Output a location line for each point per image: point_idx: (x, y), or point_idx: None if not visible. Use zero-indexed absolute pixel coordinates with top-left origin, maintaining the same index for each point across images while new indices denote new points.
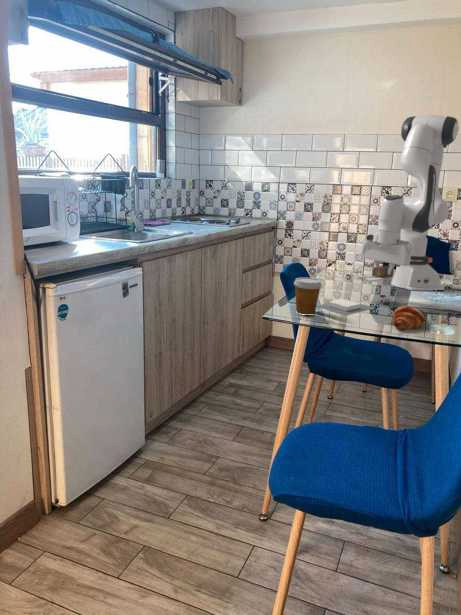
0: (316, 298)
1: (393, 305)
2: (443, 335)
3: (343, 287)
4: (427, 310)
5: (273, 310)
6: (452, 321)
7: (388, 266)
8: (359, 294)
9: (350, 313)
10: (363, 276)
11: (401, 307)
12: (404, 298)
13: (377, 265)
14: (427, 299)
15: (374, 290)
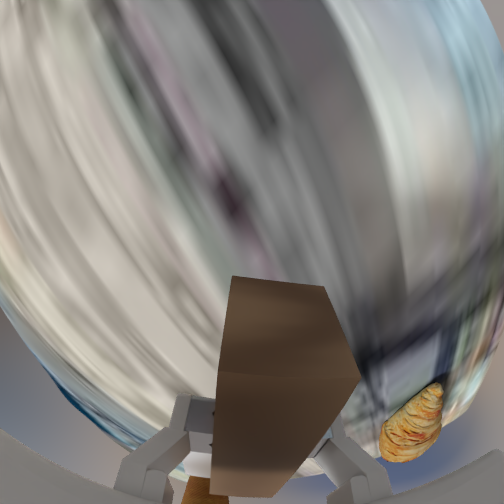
0: (228, 502)
1: (354, 330)
2: (457, 409)
3: (20, 203)
4: (467, 287)
5: None
6: (499, 331)
7: (268, 408)
8: (131, 270)
9: None
10: (200, 464)
11: (399, 460)
12: (359, 144)
13: (171, 462)
14: (444, 79)
15: (123, 101)
